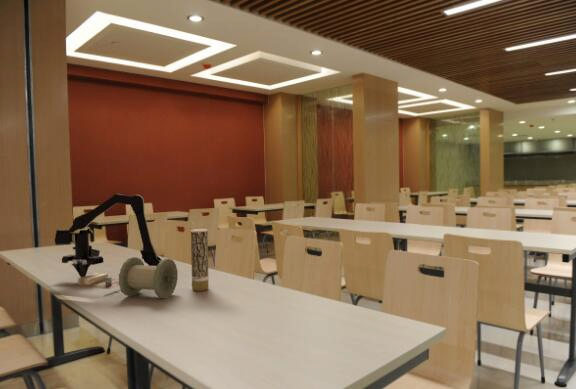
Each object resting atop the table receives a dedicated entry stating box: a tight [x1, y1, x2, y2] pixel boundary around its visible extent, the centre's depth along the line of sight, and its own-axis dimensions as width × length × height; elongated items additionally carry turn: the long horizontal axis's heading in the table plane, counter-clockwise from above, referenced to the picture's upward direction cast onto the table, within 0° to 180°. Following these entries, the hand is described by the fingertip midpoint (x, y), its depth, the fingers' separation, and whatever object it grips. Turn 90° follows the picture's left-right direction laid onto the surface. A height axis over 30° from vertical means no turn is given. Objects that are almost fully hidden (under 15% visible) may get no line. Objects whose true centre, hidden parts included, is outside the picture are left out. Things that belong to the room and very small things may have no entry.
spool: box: [118, 256, 179, 300], centre depth 169 cm, size 16×15×15 cm
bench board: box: [71, 272, 120, 289], centre depth 187 cm, size 20×15×5 cm
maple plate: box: [77, 272, 109, 285], centre depth 189 cm, size 6×11×2 cm, turn 160°
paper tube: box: [190, 228, 210, 292], centre depth 179 cm, size 7×7×25 cm
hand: (83, 278), depth 191 cm, fingers closed
